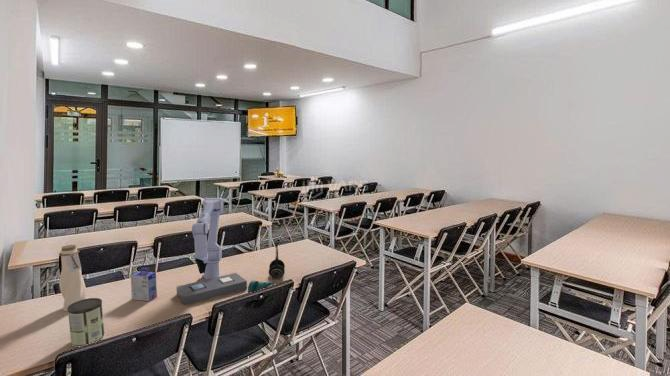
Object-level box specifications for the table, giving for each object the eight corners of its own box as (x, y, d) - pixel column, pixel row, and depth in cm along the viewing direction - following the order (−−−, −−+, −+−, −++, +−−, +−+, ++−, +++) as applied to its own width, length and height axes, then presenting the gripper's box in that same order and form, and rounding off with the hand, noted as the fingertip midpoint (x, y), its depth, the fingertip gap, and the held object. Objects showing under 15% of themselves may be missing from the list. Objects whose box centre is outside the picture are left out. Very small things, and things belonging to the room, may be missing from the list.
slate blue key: (191, 291, 165) (190, 285, 164) (201, 289, 168) (201, 283, 167) (194, 295, 161) (194, 289, 160) (205, 292, 164) (204, 286, 163)
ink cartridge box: (158, 296, 162) (156, 267, 161) (149, 301, 157) (147, 271, 155) (140, 294, 164) (138, 265, 163) (131, 299, 159) (129, 270, 157)
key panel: (176, 294, 165) (176, 286, 164) (236, 279, 183) (235, 272, 183) (184, 305, 154) (184, 296, 154) (246, 288, 173) (246, 281, 172)
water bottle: (93, 304, 153) (88, 245, 150) (72, 314, 145) (67, 250, 141) (78, 301, 157) (72, 242, 153) (56, 310, 148) (50, 248, 145)
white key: (219, 284, 173) (219, 279, 173) (229, 282, 176) (229, 276, 176) (223, 288, 169) (223, 282, 169) (233, 285, 172) (232, 279, 172)
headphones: (284, 271, 197) (284, 237, 194) (284, 281, 182) (284, 245, 180) (269, 271, 195) (269, 238, 193) (268, 282, 181) (267, 245, 178)
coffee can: (83, 332, 131) (80, 297, 129) (110, 332, 132) (108, 297, 130) (63, 348, 121) (59, 310, 119) (92, 347, 121) (89, 310, 120)
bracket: (260, 301, 159) (260, 285, 158) (248, 299, 161) (247, 283, 160) (278, 286, 176) (278, 271, 175) (266, 284, 178) (266, 270, 177)
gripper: (188, 244, 170) (189, 270, 172) (197, 252, 159) (198, 279, 160) (202, 241, 174) (203, 267, 176) (212, 249, 163) (213, 276, 165)
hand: (202, 272), depth 169 cm, fingers closed
